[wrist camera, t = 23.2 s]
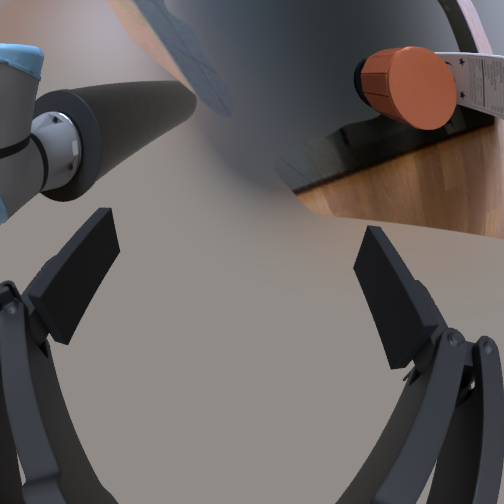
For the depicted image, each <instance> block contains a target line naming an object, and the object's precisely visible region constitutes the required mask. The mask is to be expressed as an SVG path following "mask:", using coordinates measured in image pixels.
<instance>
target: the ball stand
mask: <svg viewBox="0 0 504 504" xmlns="http://www.w3.org/2000/svg"><path fill="white" fill-rule="evenodd" d="M367 59H368V57H367V58H365V59H363V60H362V61H361V62H360V63H359V64H358V66H357V68H356V69H355V73H354V85H355V88H356V91H357V93H358V95H359V97H360V98H361V99H362V100H363V101H364V102H365V103H366V104H367V105H369V106H370V107H372V106H371V104H370V103H369V101H368V100H367V98H366V97H365V95H364V94H363V93H364V92H363V90H362V82H361V71H362V69H363V67H364V64H365V62H366V60H367Z"/></svg>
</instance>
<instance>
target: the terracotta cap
mask: <svg viewBox="0 0 504 504" xmlns="http://www.w3.org/2000/svg"><path fill="white" fill-rule="evenodd" d="M361 82H362V90H363V92H364V93H363V94H364V95H365V97H366V98H367V100H368V101H369V103H370V104H371V106H372V108H374V110H376V111H378V112H379V113H381V114H383V115H384V116H386V117H387V118H390V119H393V120H396V121H398V122H401V123H404V124H407V125H409V126H412V127H414V128H417V129H424V130H433V129H437V128H439V127H441V126H443V125H444V124H445V123H447V121H448V120H449V119H450V118H451V116H452V114H453V112H454V109H455V106H456V99H457V92H456V85H455V81H454V78H453V76H452V73H451V71H450V69H449V68H448V66H447V65H446V63H445V62H444V61H443V60H442V59H441V58H440V57H439V56H438V55H436V54H435V53H433V52H431V51H430V50H427V49H425V48H420V47H411V46H408V47H400V48H392V49H386V50H380V51H379V52H377V53H375V54H373V55H372V56H370V57H368V59H367V60H366V62H365V64H364V67H363V69H362V71H361Z"/></svg>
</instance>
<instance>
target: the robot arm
mask: <svg viewBox="0 0 504 504" xmlns="http://www.w3.org/2000/svg"><path fill="white" fill-rule="evenodd" d="M43 60H44V53H43V51H42V50H41V49H40V48H38V47H34V46H28V45H19V44H18V45H17V44H0V225H1V224H2V223H5V222H6V221H7V220H8V219H9V218H10V217H11V216H12V215H13V214H14V213H15V212H16V211H18V210H19V209H20V208H21V207H22V206H23V205H25V204H26V203H27V202H28V201H29V200H30V199H32V198H33V197H34V196H35V195H37V194H38V193H39V192H41V191H46V190H50V189H55V188H59V187H61V186H64V185H65V184H67V183H68V182H70V181H71V180H72V179H73V178H74V177H75V176H76V175H77V173H78V172H79V170H80V167H81V164H82V161H83V153H84V147H83V139H82V135H81V132H80V130H79V127H78V125H77V124H76V122H75V121H74V120H73V118H72V117H70V116H69V115H68V114H66V113H65V112H62V111H58V110H53V111H49V112H46V113H43V114H41V115H40V116H38V117H37V118H35V119H34V120H33V121H32V118H33V112H34V105H35V100H36V95H37V90H38V85H39V81H40V80H41V77H40V74H41V68H42V64H43ZM119 253H120V248H119V244H118V240H117V235H116V230H115V225H114V220H113V214H112V209H111V208H99V209H98V210H97V211H96V212H95V213H94V214H93V215H92V216H91V217H90V218H89V219H88V220H87V221H86V222H85V223H84V224H83V225H82V226H81V228H80V229H79V230H78V231H77V232H76V233H75V234H74V235H73V236H72V238H71V239H70V240H69V241H68V242H67V243H66V244H65V246H64V247H63V248H62V249H61V250H60V252H59V253H58V254H57V255H56V256H54V257H52V258H51V259H50V260H48V261H47V262H46V263H45V264H44V266H43V267H42V268H41V271H39V272H38V273H37V275H36V277H34V279H33V280H32V281H31V283H30V284H29V285H28V287H27V288H26V290H25V291H24V292H23V294H22V295H20V294H19V292H18V290H17V288H16V286H15V284H14V282H12V281H4V282H2V283H1V284H0V504H118V502H117V501H116V500H115V499H114V497H113V496H112V495H111V494H110V493H109V492H108V491H107V490H106V489H105V488H104V487H103V486H102V485H101V483H100V481H99V480H98V478H97V476H96V474H95V472H94V470H93V468H92V466H91V464H90V462H89V460H88V458H87V456H86V454H85V452H84V450H83V448H82V445H81V443H80V441H79V438H78V436H77V434H76V431H75V429H74V426H73V424H72V421H71V419H70V416H69V413H68V410H67V408H66V404H65V401H64V398H63V395H62V392H61V389H60V385H59V382H58V378H57V375H56V371H55V367H54V363H53V359H52V355H51V350H50V345H49V342H48V340H47V339H46V338H47V336H48V334H49V333H50V334H51V336H52V337H53V339H54V341H56V342H59V343H62V344H65V345H68V344H69V342H70V340H71V338H72V336H73V334H74V332H75V330H76V328H77V326H78V324H79V322H80V320H81V318H82V316H83V314H84V312H85V310H86V309H87V307H88V305H89V303H90V301H91V299H92V298H93V296H94V294H95V292H96V291H97V289H98V287H99V285H100V284H101V282H102V280H103V279H104V277H105V275H106V274H107V272H108V270H109V269H110V267H111V265H112V264H113V262H114V261H115V259H116V257H117V256H118V254H119ZM353 269H354V271H355V273H356V276H357V278H358V281H359V283H360V285H361V288H362V290H363V293H364V295H365V298H366V300H367V303H368V306H369V308H370V311H371V313H372V316H373V319H374V321H375V324H376V327H377V330H378V333H379V335H380V338H381V341H382V344H383V347H384V350H385V353H386V356H387V359H388V362H389V365H390V368H391V369H399V368H405V367H406V366H407V365H408V364H409V363H410V361H411V360H412V359H413V361H414V364H415V366H414V367H413V368H412V370H411V371H410V372H409V373H408V374H407V375H406V376H405V377H404V379H403V381H405V380H406V379H407V378H408V380H407V382H406V385H405V387H404V390H403V392H402V394H401V396H400V398H399V400H398V402H397V405H396V407H395V409H394V411H393V413H392V415H391V417H390V419H389V421H388V423H387V425H386V427H385V428H384V430H383V432H382V434H381V436H380V438H379V440H378V441H377V443H376V445H375V446H374V448H373V450H372V451H371V453H370V455H369V456H368V458H367V460H366V461H365V463H364V464H363V466H362V468H361V469H360V471H359V472H358V473H357V475H356V477H355V478H354V479H353V481H352V482H351V484H350V485H349V486H348V488H347V489H346V490H345V492H344V493H343V494H342V496H341V497H340V498H339V500H338V501H337V502H336V503H335V504H416V502H417V500H418V498H419V497H420V495H421V493H422V491H423V489H424V487H425V485H426V483H427V480H428V478H429V476H430V474H431V472H432V470H433V467H434V465H435V463H436V460H437V463H436V468H435V473H434V477H433V481H432V485H431V489H430V493H429V496H428V499H427V503H426V504H497V500H498V494H499V489H500V483H501V477H502V469H503V460H504V389H503V378H502V370H501V363H500V356H499V351H498V347H497V345H496V344H495V342H494V340H493V339H491V338H489V337H488V336H482V337H480V338H479V340H478V341H477V342H476V343H472V342H467V341H465V338H464V336H463V335H462V334H461V333H460V332H459V331H458V330H456V329H454V328H448V326H447V324H446V322H445V320H444V319H443V317H442V315H441V313H440V311H439V309H438V308H437V306H436V305H435V303H434V300H433V299H432V298H431V295H430V294H429V292H428V290H427V288H426V287H425V286H423V284H422V283H421V282H420V281H419V280H414V278H413V276H412V275H411V273H410V271H409V270H408V268H407V266H406V265H405V263H404V262H403V260H402V259H401V257H400V255H399V254H398V252H397V251H396V249H395V248H394V246H393V245H392V243H391V242H390V240H389V239H388V237H387V236H386V235H385V233H384V232H383V230H382V229H381V227H377V226H369V225H368V226H367V229H366V232H365V235H364V238H363V241H362V244H361V247H360V250H359V253H358V256H357V259H356V262H355V264H354V267H353ZM474 381H475V387H474V388H473V389H471V384H472V383H473V382H474ZM16 450H17V451H16ZM17 453H18V456H19V460H20V462H21V466H22V468H23V471H24V474H25V477H26V482H25V484H24V485H23V486H22V482H21V477H20V472H19V465H18V459H17Z"/></svg>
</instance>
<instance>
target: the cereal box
mask: <svg viewBox="0 0 504 504" xmlns="http://www.w3.org/2000/svg"><path fill="white" fill-rule="evenodd" d="M433 53H435V54H436V55H438V56H439V57H440V58H441V59H442V60H443V61H444V62H445V63H446V65H447V66H448V68H449V69H450V71H451V73H452V76H453V78H454V81H455V85H456V92H457V99H456V104H459V105H462V106H466V107H469V108H472V109H475V110H478V111H481V112H484V113H487V114H490V115H493V116H496V117H498V118H501V119H504V56H499V55H490V54H479V53H460V52H433Z"/></svg>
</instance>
